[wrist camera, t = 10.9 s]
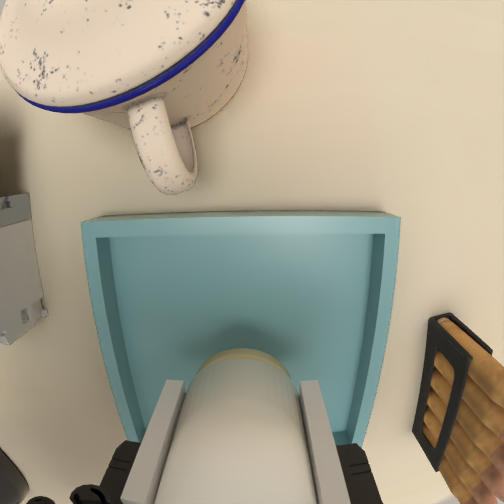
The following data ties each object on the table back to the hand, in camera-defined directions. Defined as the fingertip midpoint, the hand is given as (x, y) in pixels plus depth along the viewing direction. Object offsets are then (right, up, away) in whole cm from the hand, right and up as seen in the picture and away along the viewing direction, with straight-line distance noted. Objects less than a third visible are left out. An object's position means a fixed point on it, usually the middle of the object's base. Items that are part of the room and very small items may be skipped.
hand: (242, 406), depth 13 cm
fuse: (0, 0, +1) cm, 1 cm away
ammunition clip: (+13, -2, +7) cm, 15 cm away
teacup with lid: (-4, +16, +2) cm, 16 cm away
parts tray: (0, +1, +5) cm, 6 cm away
